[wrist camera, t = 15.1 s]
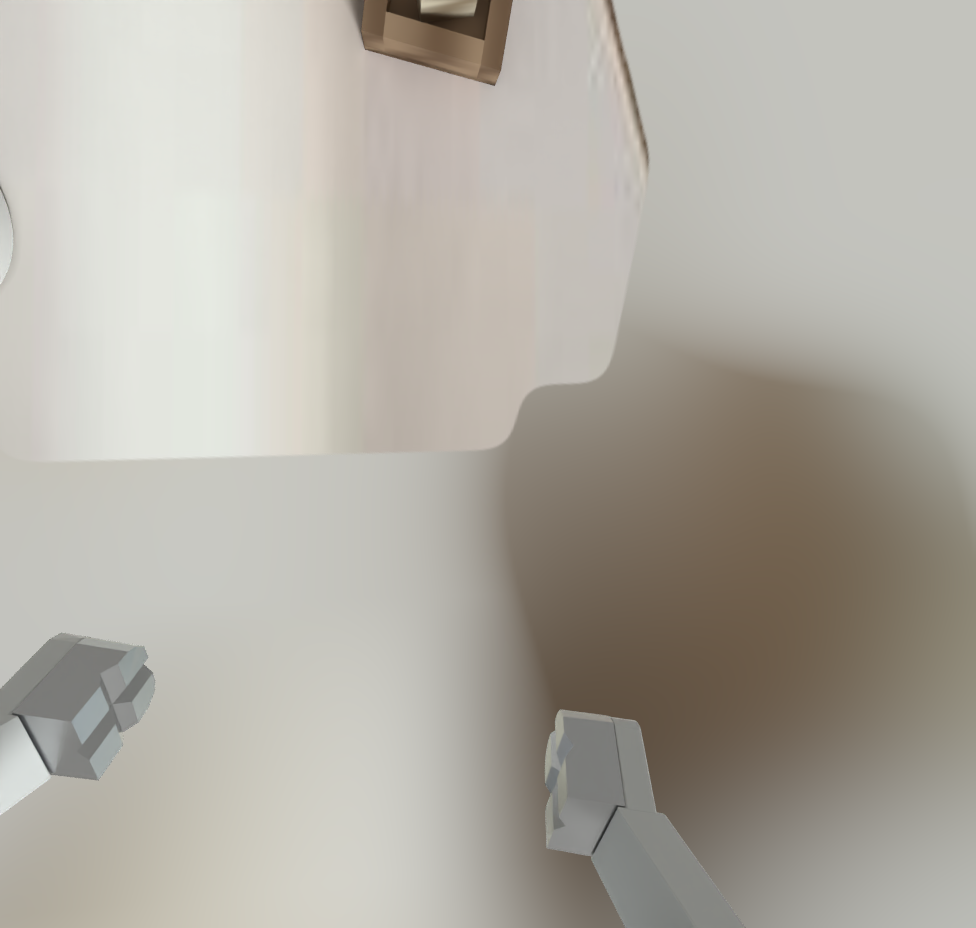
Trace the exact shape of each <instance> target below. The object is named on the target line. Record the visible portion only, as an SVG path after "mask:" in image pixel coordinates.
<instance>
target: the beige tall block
mask: <svg viewBox="0 0 976 928" xmlns="http://www.w3.org/2000/svg"><path fill="white" fill-rule="evenodd" d="M417 4H418V11H419V17H420V22H423V23H424V22H432V21H441V20H449V19H458V18H467V17H474V13H475V8H476V4H477V0H417Z"/></svg>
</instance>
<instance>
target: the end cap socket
mask: <svg viewBox="0 0 976 928" xmlns="http://www.w3.org/2000/svg"><path fill="white" fill-rule="evenodd" d="M512 1H513V0H477V4H476V8H475V13H474V17H467V18H458V19H449V20H441V21H432V22H424V23H423V22H420V17H419V11H418V4H417V0H364V9H363V19H362V28H361V32H362V37H363V42H364V47H365V50H369V51H373V52H376V53H380V54H383V55H387V56H390V57H394V58H397V59H401V60H405V61H408V62H412V63H415V64H419V65H422V66H426V67H430V68H433V69H437V70H440V71H444V72H447V73H451V74H454V75H458V76H462V77H465V78H469V79H472V80H476V81H479V82H483V83H487V84H490V85H494V86H495V84H496V81H497V79H498V76H499V74H500V71H501V66H502V60H503V54H504V49H505V43H506V37H507V31H508V25H509V19H510V13H511V7H512Z"/></svg>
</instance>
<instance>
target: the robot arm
mask: <svg viewBox="0 0 976 928" xmlns="http://www.w3.org/2000/svg"><path fill="white" fill-rule="evenodd" d="M12 251H13V229H12V222H11V217H10V213H9V210H8V207H7V204H6V201H5V199H4V196H3V194H2V192H1V190H0V284H1V282H2V281H3V279H4V277H5V275H6V273H7V271H8V268H9V265H10V262H11V258H12ZM147 659H148V655H147V653H146V650H145V648H144V646H139V645H133V644H126V643H120V642H114V641H108V640H102V639H95V638H91V637H86V636H79V635H72V634H66V633H60V634H58V635H57V636H55V637H53V638H51V639H49V640H48V641H47V642H46V643H45V644H44V645H43V646H42V647H41V648H40V649H39V650H38V652H36V653H35V654H34V655H33V656H32V658H30V659H29V661H28V662H27V663H25V664H24V666H22V668H21V669H20V670H19V671H18V672H17V673H16V674H15V675H14V676H13V677H12V678H11V679H10V680H9V681H8V682H7V683H6V684H5V685H4V686H3V687H2V688H1V689H0V815H1V814H2V813H3V812H5V811H6V810H8V809H9V808H11V807H12V806H13V805H15V804H16V803H17V802H19V801H20V800H21V799H23V798H24V797H25V796H27V795H28V794H30V793H31V792H32V791H34V790H35V789H36V788H38V787H39V786H41V785H42V784H43V783H45V782H46V781H47V780H49V779H50V778H51V775H58V776H67V777H75V778H84V779H91V780H99V779H100V777H101V776H102V775H103V773H104V772H105V770H106V769H107V767H108V766H109V765H110V763H111V762H112V760H113V758H114V757H115V756H116V754H117V753H118V752H119V750H120V749H121V747H122V746H123V732H124V731H125V730H127V729H129V728H130V727H132V726H133V725H135V724H137V723H138V722H139V721H140V719H141V718H142V716H143V715H144V713H145V712H146V710H147V709H148V707H149V705H150V702H151V699H152V697H153V694H154V690H155V679H154V675H153V672H152V671H151V670H149V669H148V668H147V667H146V666H145V665H144V663H145V661H146V660H147ZM555 724H556V725H555V727H556V731H554V732H552V733H551V734H550V737H549V741H548V745H547V752H546V758H545V785H546V786H547V788H548V789H549V791H550V793H551V795H550V798H549V801H548V804H547V806H546V844H547V845H546V847H547V848H549V849H554V850H559V851H565V852H570V853H576V854H582V855H587V856H592V858H591V860H592V862H593V864H594V866H595V868H596V870H597V872H598V874H599V876H600V878H601V880H602V882H603V884H604V886H605V888H606V890H607V892H608V894H609V896H610V898H611V900H612V902H613V904H614V906H615V908H616V910H617V912H618V914H619V916H620V918H621V920H622V922H623V924H624V926H625V927H626V928H746V927H745V926H744V924H743V923H742V922H741V920H740V919H739V918H738V916H737V915H736V913H735V912H734V910H733V909H732V908H731V906H730V905H729V903H728V902H727V901H726V899H725V898H724V897H723V895H722V894H721V892H720V891H719V890H718V888H717V887H716V885H715V884H714V883H713V881H712V880H711V879H710V877H709V876H708V874H707V873H706V871H705V870H704V869H703V867H702V866H701V864H700V863H699V862H698V860H697V859H696V858H695V856H694V855H693V853H692V852H691V850H690V849H689V848H688V847H687V845H686V843H685V842H684V841H683V839H682V838H681V837H680V835H679V834H678V832H677V831H676V830H675V828H674V827H673V825H672V824H671V823H670V821H669V820H668V818H667V817H666V816H665V814H662V813H657V812H656V807H655V802H654V797H653V792H652V786H651V781H650V776H649V770H648V765H647V760H646V755H645V750H644V744H643V739H642V734H641V728H640V726H639V724H638V723H637V722H636V721H634V720H628V719H621V718H613V717H609V716H604V715H597V714H590V713H582V712H575V711H567V710H560V711H559V712H558V714H557V716H556V719H555Z"/></svg>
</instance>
